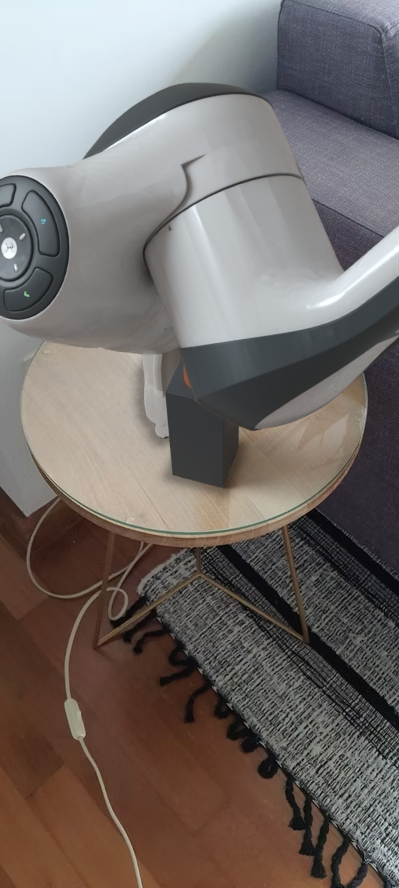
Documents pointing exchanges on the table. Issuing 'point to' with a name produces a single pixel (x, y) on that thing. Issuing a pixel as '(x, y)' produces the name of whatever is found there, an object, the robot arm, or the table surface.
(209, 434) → the stand
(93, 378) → the table surface
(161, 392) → the candle
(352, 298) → the robot arm
